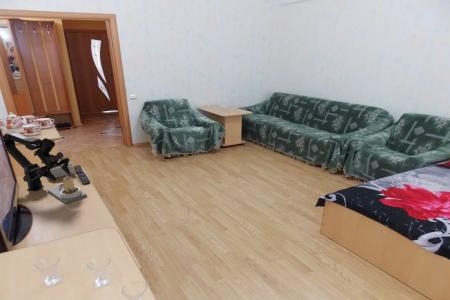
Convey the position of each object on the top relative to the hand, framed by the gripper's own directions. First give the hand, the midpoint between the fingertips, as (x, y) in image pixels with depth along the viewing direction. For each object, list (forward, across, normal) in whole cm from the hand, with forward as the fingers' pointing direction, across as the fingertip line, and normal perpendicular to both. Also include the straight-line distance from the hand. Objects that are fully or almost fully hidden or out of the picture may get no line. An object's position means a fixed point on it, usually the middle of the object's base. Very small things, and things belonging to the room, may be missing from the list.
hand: (63, 177), depth 163 cm
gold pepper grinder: (+10, 0, +5) cm, 11 cm away
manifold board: (+8, +2, +9) cm, 12 cm away
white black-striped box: (-9, +20, +27) cm, 35 cm away
